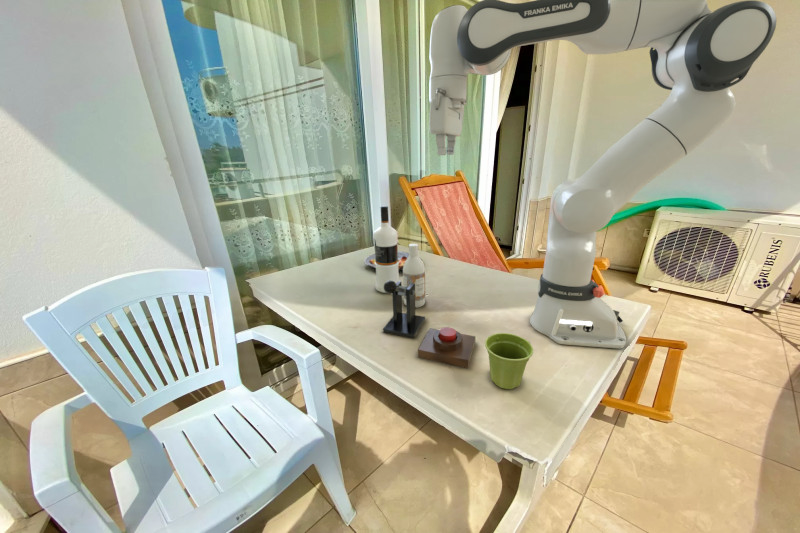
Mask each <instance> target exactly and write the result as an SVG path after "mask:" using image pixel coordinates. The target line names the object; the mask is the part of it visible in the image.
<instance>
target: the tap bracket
mask: <svg viewBox="0 0 800 533" xmlns="http://www.w3.org/2000/svg"><path fill="white" fill-rule="evenodd" d="M396 285H397V287H399V286H403V285H402V281H401V280H400V281H398V282H397V283H396ZM391 295H392V315H393V316H392V317H391V318H390V320H388V322H387V323H386V325H385V326H384V327H383V328H382V332H383V333H385V334H390V335H395V336H399V337H405V338H410V339H415V338H416V336H417V334H418V333H419V332H420V329H421V328H422V326H423V325H424V323H425V321H426V316H423V315H417V314H416V308H415V283H411V284H410V285H409V286H408V288H407V289H406V305H405V306H406V313H405V312H403V296H401V295H398V292H397V291H395V292H394V293H392V294H391Z"/></svg>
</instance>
